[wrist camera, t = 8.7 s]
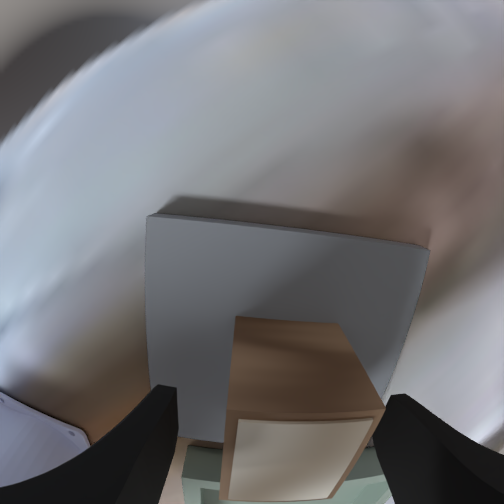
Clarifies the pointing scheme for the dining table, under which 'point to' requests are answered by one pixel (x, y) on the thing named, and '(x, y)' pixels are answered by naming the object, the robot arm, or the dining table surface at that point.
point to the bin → (345, 500)
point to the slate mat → (265, 300)
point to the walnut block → (294, 411)
